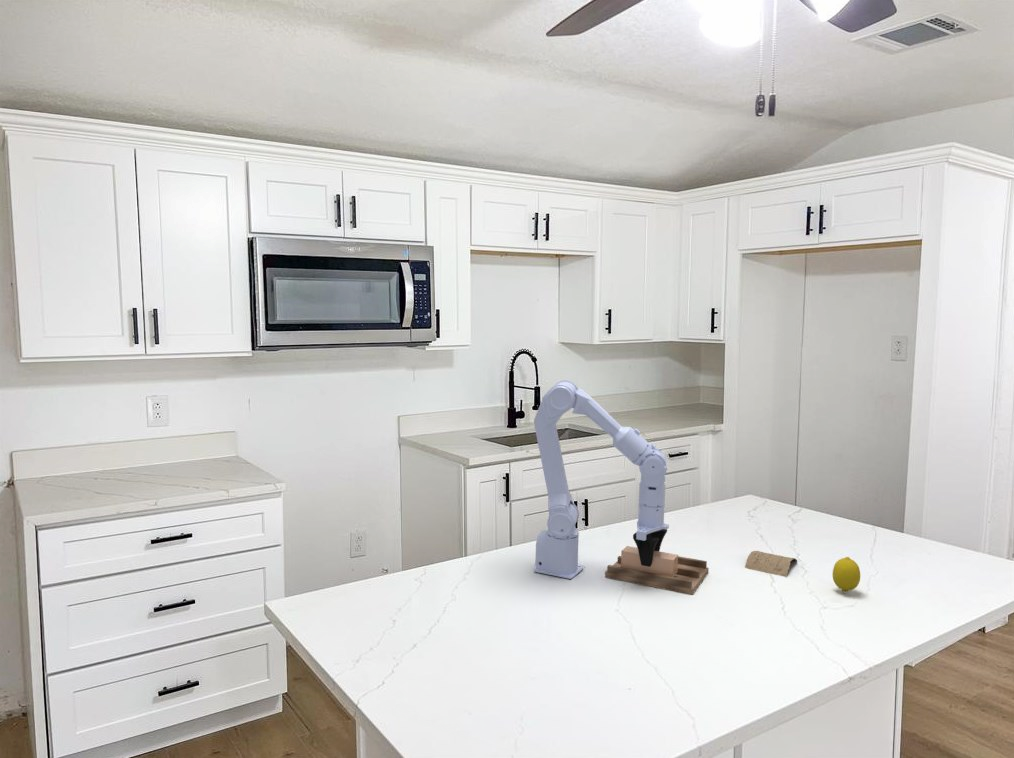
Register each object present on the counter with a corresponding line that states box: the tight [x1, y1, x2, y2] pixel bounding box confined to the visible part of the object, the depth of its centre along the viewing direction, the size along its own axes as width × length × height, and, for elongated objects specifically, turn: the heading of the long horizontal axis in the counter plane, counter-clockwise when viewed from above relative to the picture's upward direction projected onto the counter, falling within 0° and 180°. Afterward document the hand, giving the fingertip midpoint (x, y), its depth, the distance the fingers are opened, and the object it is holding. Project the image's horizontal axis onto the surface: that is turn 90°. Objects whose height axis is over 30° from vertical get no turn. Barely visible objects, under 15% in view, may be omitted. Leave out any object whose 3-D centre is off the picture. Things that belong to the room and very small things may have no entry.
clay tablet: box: [744, 550, 798, 578], centre depth 181 cm, size 14×10×3 cm
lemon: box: [832, 556, 861, 593], centre depth 164 cm, size 6×6×8 cm
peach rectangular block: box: [620, 545, 679, 577], centre depth 170 cm, size 12×4×4 cm, turn 62°
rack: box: [604, 555, 710, 595], centre depth 173 cm, size 20×15×3 cm
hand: (649, 562), depth 170 cm, fingers closed on peach rectangular block, 4 cm apart
